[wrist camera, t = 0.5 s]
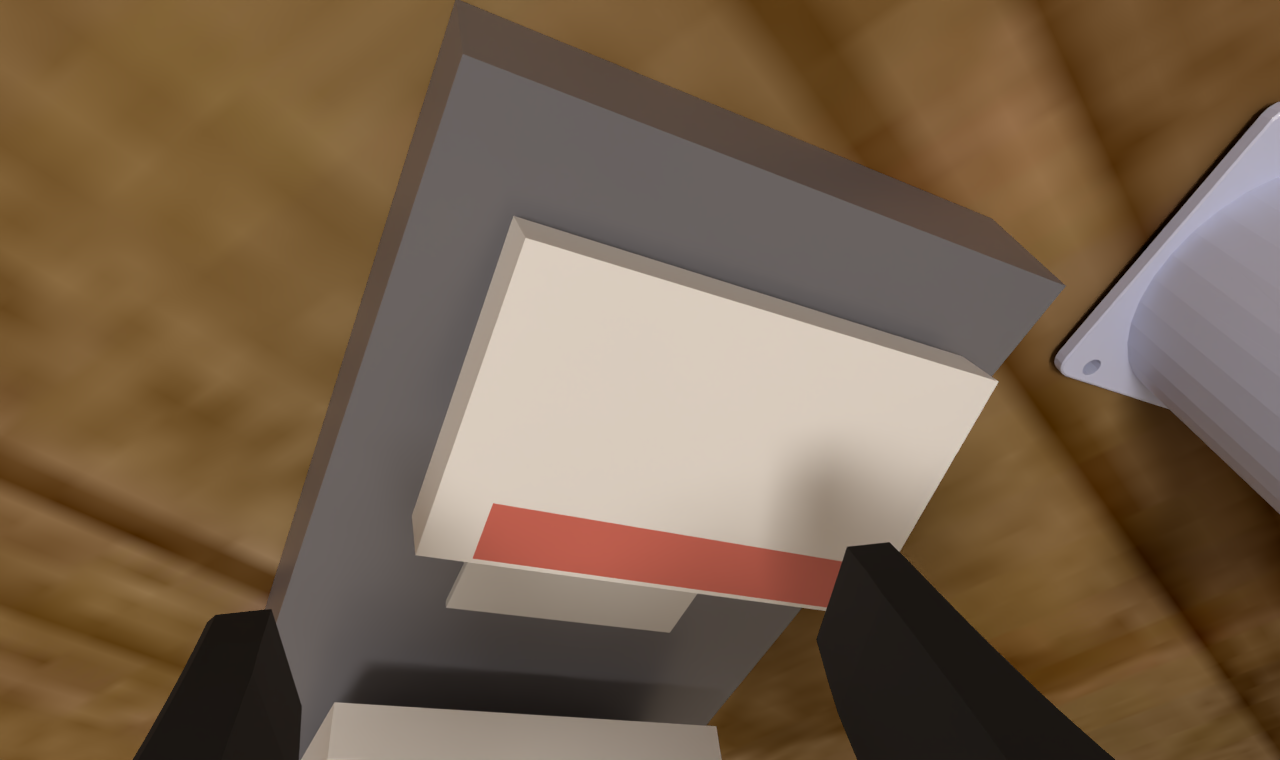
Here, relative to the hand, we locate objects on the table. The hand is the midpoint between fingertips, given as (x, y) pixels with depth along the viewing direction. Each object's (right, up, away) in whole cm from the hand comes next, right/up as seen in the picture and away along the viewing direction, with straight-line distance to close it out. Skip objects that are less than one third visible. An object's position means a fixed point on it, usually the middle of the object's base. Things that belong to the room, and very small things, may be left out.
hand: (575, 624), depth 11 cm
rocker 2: (-3, -7, +12) cm, 14 cm away
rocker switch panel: (-1, 0, +12) cm, 12 cm away
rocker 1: (+2, +2, +6) cm, 7 cm away
